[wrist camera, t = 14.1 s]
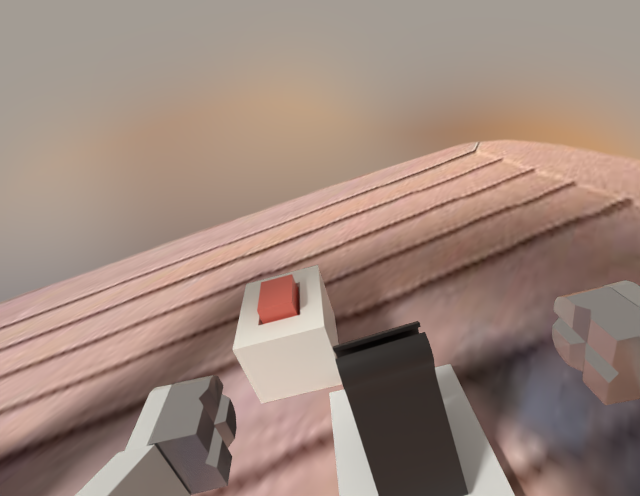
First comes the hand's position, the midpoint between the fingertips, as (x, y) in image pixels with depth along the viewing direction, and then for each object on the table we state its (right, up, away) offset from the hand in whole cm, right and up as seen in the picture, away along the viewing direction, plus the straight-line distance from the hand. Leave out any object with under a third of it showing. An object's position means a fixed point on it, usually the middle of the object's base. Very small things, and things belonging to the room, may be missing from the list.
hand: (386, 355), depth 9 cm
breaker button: (-5, -5, +31) cm, 32 cm away
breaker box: (-4, -10, +34) cm, 36 cm away
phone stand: (+5, -14, +21) cm, 25 cm away
